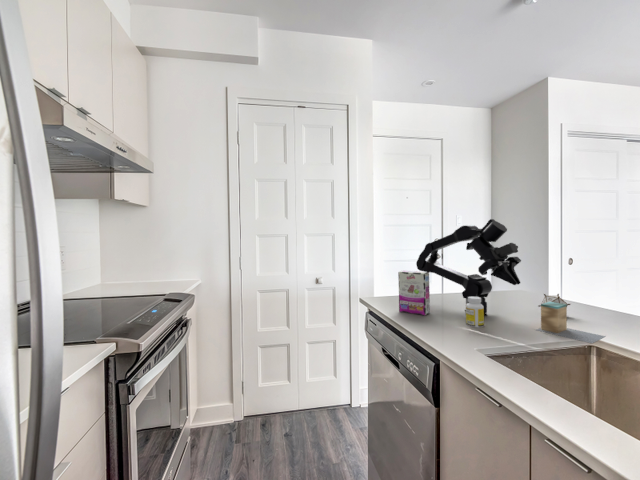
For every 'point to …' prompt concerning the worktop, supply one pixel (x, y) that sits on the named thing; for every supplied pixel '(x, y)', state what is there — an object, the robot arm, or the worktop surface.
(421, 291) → the candy bar box
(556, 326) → the oak block
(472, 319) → the supplement bottle
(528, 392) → the worktop surface
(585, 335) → the mat
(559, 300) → the game die
